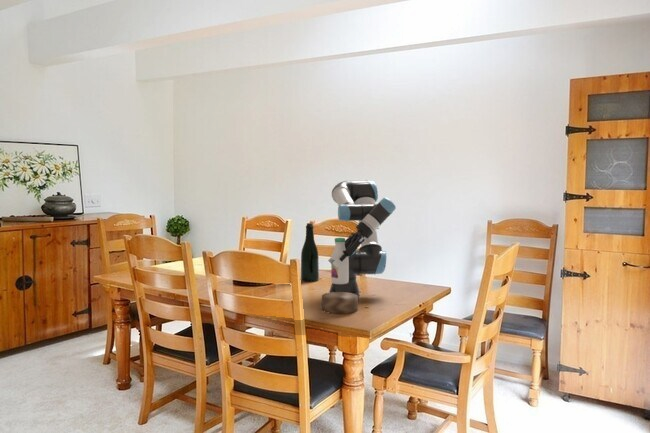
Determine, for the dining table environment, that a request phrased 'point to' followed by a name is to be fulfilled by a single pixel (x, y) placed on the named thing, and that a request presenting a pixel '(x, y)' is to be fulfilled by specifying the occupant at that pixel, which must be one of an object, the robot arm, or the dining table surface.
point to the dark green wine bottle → (309, 257)
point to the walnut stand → (339, 302)
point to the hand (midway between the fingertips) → (332, 264)
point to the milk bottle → (342, 271)
